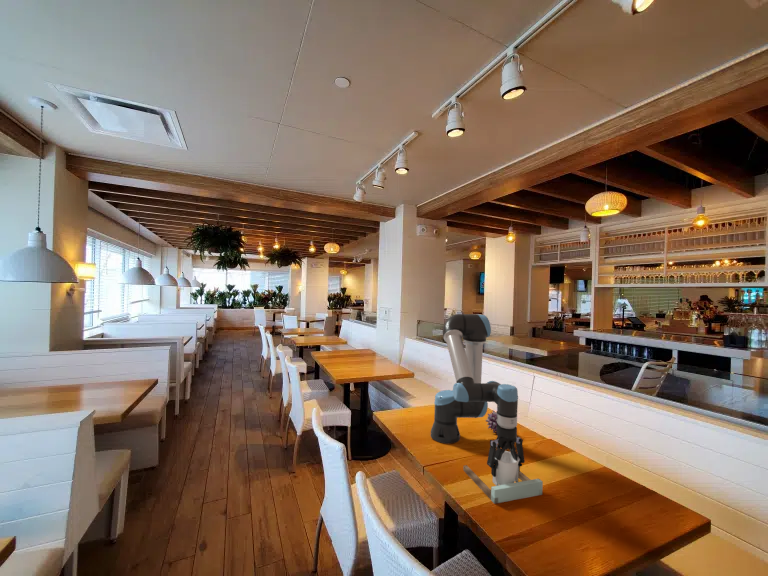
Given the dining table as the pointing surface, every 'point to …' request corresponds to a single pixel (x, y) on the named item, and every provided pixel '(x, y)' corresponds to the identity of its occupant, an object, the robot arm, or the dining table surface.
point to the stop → (516, 490)
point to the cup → (507, 468)
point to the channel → (483, 485)
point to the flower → (492, 421)
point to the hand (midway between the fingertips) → (505, 482)
